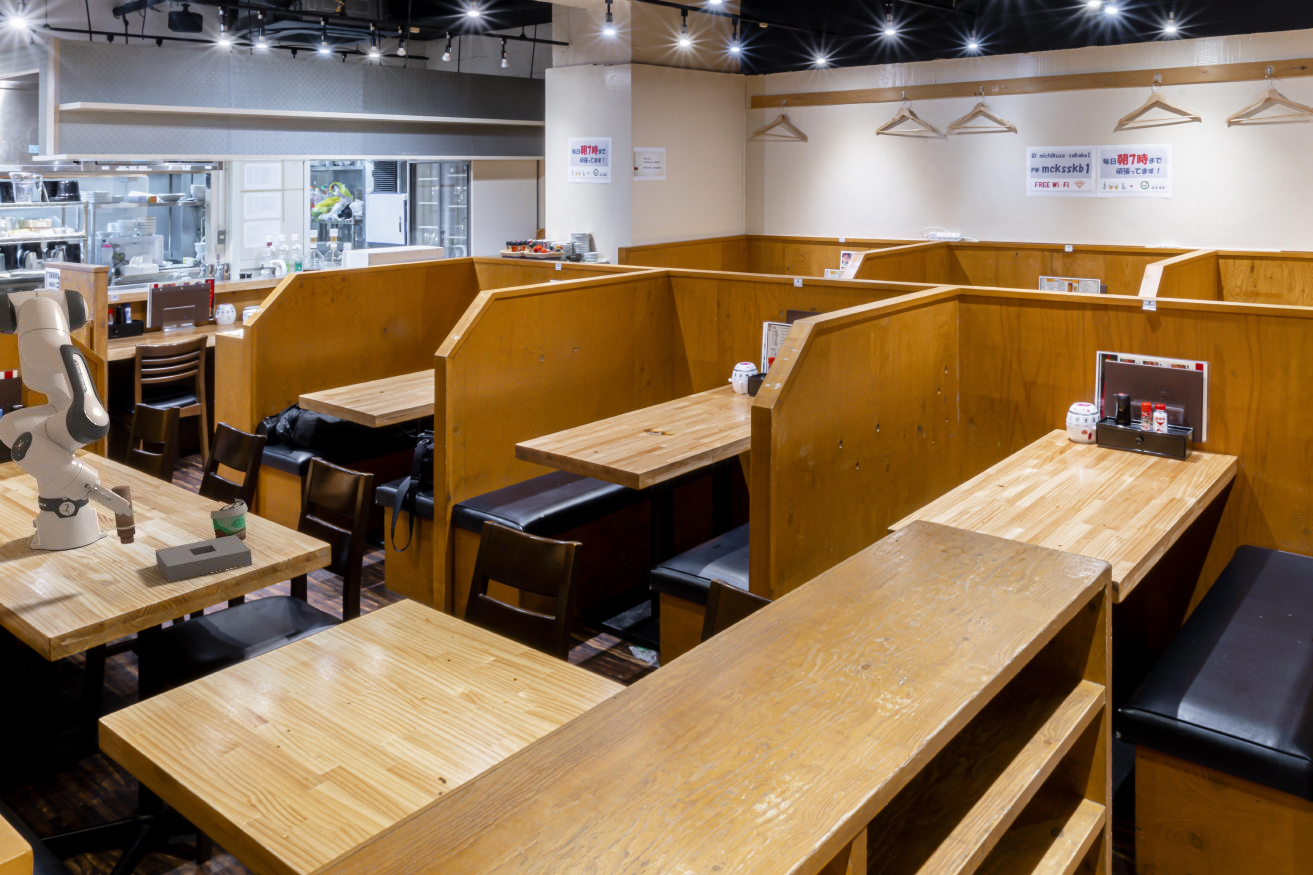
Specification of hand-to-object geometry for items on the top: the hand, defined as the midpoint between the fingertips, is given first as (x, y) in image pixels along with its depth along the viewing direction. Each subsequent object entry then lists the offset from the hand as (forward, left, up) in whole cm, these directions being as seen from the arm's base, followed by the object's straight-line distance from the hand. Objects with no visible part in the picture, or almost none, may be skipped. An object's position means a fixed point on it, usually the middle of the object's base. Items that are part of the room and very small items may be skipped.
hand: (126, 510), depth 260 cm
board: (0, +16, -18) cm, 24 cm away
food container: (-16, +28, -18) cm, 37 cm away
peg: (0, -1, -8) cm, 8 cm away
